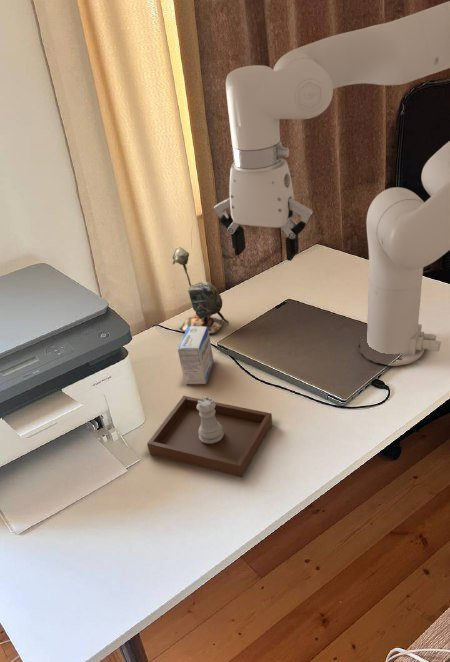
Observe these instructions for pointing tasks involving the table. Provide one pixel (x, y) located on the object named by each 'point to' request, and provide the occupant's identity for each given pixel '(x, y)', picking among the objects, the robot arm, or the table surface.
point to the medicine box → (196, 355)
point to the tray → (224, 456)
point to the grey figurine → (201, 299)
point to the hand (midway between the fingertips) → (265, 254)
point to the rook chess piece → (209, 422)
